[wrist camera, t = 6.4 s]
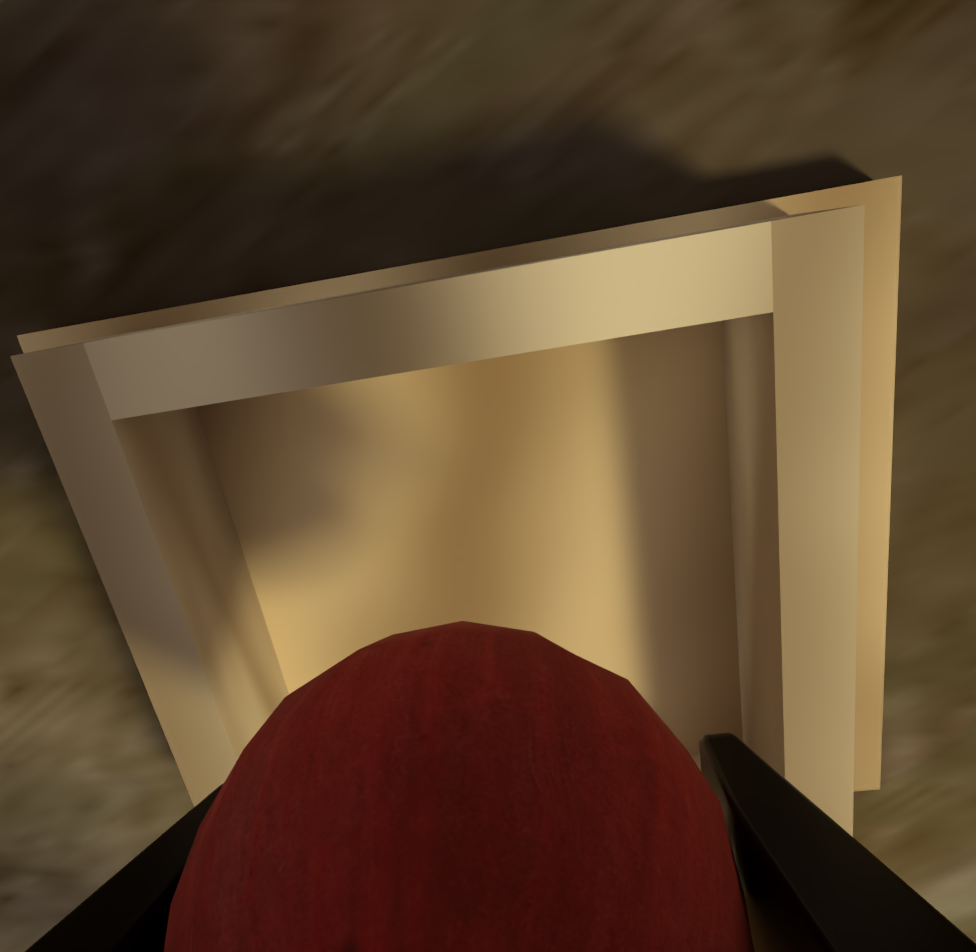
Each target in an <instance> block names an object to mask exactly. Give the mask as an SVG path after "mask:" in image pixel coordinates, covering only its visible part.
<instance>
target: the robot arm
mask: <svg viewBox="0 0 976 952" xmlns="http://www.w3.org/2000/svg"><path fill="white" fill-rule="evenodd" d="M699 749H700V761H701V772H702V774H703V775H704V777H705V779H706V780H707V782H708V783H709V785H710V786H711V788H712V790H713V791H714V793H715V794H716V796H717V797H718V799H719V801H720V804H721V807H722V811H723V815H724V819H725V823H726V826H727V830H728V834H729V838H730V842H731V846H732V849H733V853H734V857H735V861H736V865H737V868H738V872H739V876H740V880H741V884H742V888H743V891H744V896H745V901H746V907H747V913H748V919H749V924H750V930H751V936H752V942H753V947H754V952H976V944H975V943H974V942H973V941H972V940H971V939H970V938H969V937H967V936H966V935H965V934H964V933H963V932H962V931H960V930H959V929H958V928H957V927H956V926H955V925H954V924H952V923H951V922H950V921H949V920H948V919H947V918H945V917H944V916H943V915H942V914H941V913H940V912H939V911H937V910H936V909H935V908H934V907H933V906H932V905H930V904H929V903H928V902H927V901H926V900H925V899H924V898H922V897H921V896H920V895H919V894H918V893H917V892H916V891H914V890H913V889H912V888H911V887H910V886H909V885H907V884H906V883H905V882H904V881H903V880H902V879H901V878H899V877H898V876H897V875H896V874H895V873H894V872H892V871H891V870H890V869H889V868H888V867H887V866H886V865H884V864H883V863H882V862H881V861H880V860H879V859H877V858H876V857H875V856H874V855H873V854H872V853H871V852H869V851H868V850H867V849H866V848H865V847H864V846H862V845H861V844H860V843H859V842H858V841H857V840H856V839H854V838H853V837H852V836H851V835H850V834H849V833H847V832H846V831H845V830H844V829H843V828H842V827H841V826H839V825H838V824H837V823H836V822H835V821H834V820H833V819H831V818H830V817H829V816H828V815H827V814H826V813H824V812H823V811H822V810H821V809H820V808H819V807H818V806H816V805H815V804H814V803H813V802H812V801H811V800H809V799H808V798H807V797H806V796H805V795H804V794H803V793H801V792H800V791H799V790H798V789H797V788H796V787H794V786H793V785H792V784H791V783H790V782H789V781H788V780H786V779H785V778H784V777H783V776H782V775H781V774H779V773H778V772H777V771H776V770H775V769H774V768H773V767H771V766H770V765H769V764H768V763H767V762H766V761H765V760H763V759H762V758H761V757H760V756H759V755H758V754H756V753H755V752H754V751H753V750H752V749H751V748H750V747H748V746H747V745H746V744H745V743H744V742H743V741H741V740H740V739H739V738H738V737H737V736H736V735H734V734H732V733H718V734H707V735H703V736H702V737H701V738H700V740H699ZM223 784H224V783H223ZM223 784H221V785H220V786H219V787H217V788H216V789H215V790H214V791H213V792H212V793H210V794H209V795H208V796H207V797H206V798H204V799H203V800H202V801H201V802H200V803H199V804H197V805H196V806H195V807H194V808H193V809H192V810H190V811H189V812H188V813H187V814H186V815H185V816H183V817H182V818H181V819H180V820H179V821H178V822H176V823H175V824H174V825H173V826H172V827H170V828H169V829H168V830H167V831H166V832H165V833H163V834H162V835H161V836H160V837H159V838H158V839H156V840H155V841H154V842H153V843H152V844H151V845H149V846H148V847H147V848H146V849H145V850H143V851H142V852H141V853H140V854H139V855H138V856H136V857H135V858H134V859H133V860H132V861H131V862H129V863H128V864H127V865H126V866H125V867H124V868H122V869H121V870H120V871H119V872H118V873H116V874H115V875H114V876H113V877H112V878H111V879H109V880H108V881H107V882H106V883H105V884H104V885H102V886H101V887H100V888H99V889H98V890H97V891H95V892H94V893H93V894H92V895H91V896H90V897H88V898H87V899H86V900H85V901H84V902H82V903H81V904H80V905H79V906H78V907H77V908H75V909H74V910H73V911H72V912H71V913H70V914H68V915H67V916H66V917H65V918H64V919H62V920H61V921H60V922H59V923H58V924H57V925H55V926H54V927H53V928H52V929H51V930H50V931H48V932H47V933H46V934H45V935H44V936H43V937H41V938H40V939H39V940H38V941H37V942H35V943H34V944H33V945H32V946H31V947H30V948H28V949H27V950H26V951H25V952H164V946H165V939H166V932H167V925H168V919H169V912H170V905H171V902H172V899H173V897H174V894H175V891H176V888H177V886H178V883H179V880H180V878H181V875H182V872H183V869H184V867H185V864H186V861H187V858H188V856H189V853H190V850H191V847H192V845H193V842H194V839H195V836H196V834H197V831H198V828H199V826H200V824H201V822H202V821H203V819H204V817H205V815H206V814H207V812H208V810H209V808H210V807H211V805H212V803H213V801H214V800H215V798H216V796H217V795H218V793H219V791H220V789H221V788H222V786H223Z"/></svg>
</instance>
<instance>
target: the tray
mask: <svg viewBox="0 0 976 952" xmlns="http://www.w3.org/2000/svg"><path fill="white" fill-rule="evenodd" d="M901 191H902V176H896V177H890V178H885V179H879V180H874V181H868V182H863V183H857V184H852V185H846V186H841V187H835V188H830V189H824V190H819V191H813V192H808V193H802V194H796V195H791V196H785V197H780V198H774V199H769V200H763V201H758V202H752V203H747V204H741V205H736V206H730V207H725V208H719V209H714V210H708V211H702V212H697V213H691V214H686V215H680V216H675V217H669V218H664V219H658V220H653V221H647V222H642V223H636V224H631V225H625V226H620V227H614V228H609V229H603V230H597V231H592V232H586V233H581V234H575V235H570V236H564V237H559V238H553V239H548V240H542V241H537V242H531V243H526V244H520V245H515V246H509V247H503V248H498V249H492V250H487V251H481V252H476V253H470V254H465V255H459V256H454V257H448V258H443V259H437V260H432V261H426V262H421V263H415V264H409V265H404V266H398V267H393V268H387V269H382V270H376V271H371V272H365V273H360V274H354V275H349V276H343V277H338V278H332V279H327V280H321V281H316V282H310V283H304V284H299V285H293V286H288V287H282V288H277V289H271V290H266V291H260V292H255V293H249V294H244V295H238V296H233V297H227V298H222V299H216V300H210V301H205V302H199V303H194V304H188V305H183V306H177V307H172V308H166V309H161V310H155V311H150V312H144V313H139V314H133V315H128V316H122V317H116V318H111V319H105V320H100V321H94V322H89V323H83V324H78V325H72V326H67V327H61V328H56V329H50V330H45V331H39V332H34V333H28V334H23V335H17V338H18V341H19V343H20V346H21V348H22V351H23V353H24V354H19V355H14V356H10V357H11V360H12V362H13V365H14V367H15V370H16V372H17V375H18V377H19V379H20V382H21V384H22V387H23V389H24V392H25V394H26V397H27V399H28V401H29V404H30V406H31V409H32V411H33V414H34V416H35V419H36V421H37V423H38V426H39V428H40V431H41V433H42V436H43V438H44V441H45V443H46V445H47V448H48V450H49V453H50V455H51V458H52V460H53V463H54V465H55V467H56V470H57V472H58V475H59V477H60V480H61V482H62V485H63V487H64V489H65V492H66V494H67V497H68V499H69V502H70V504H71V507H72V509H73V511H74V514H75V516H76V519H77V521H78V524H79V526H80V529H81V531H82V533H83V536H84V538H85V541H86V543H87V546H88V548H89V551H90V553H91V555H92V558H93V560H94V563H95V565H96V568H97V570H98V573H99V575H100V577H101V580H102V582H103V585H104V587H105V590H106V592H107V595H108V597H109V599H110V602H111V604H112V607H113V609H114V612H115V614H116V617H117V619H118V621H119V624H120V626H121V629H122V631H123V634H124V636H125V639H126V641H127V643H128V646H129V648H130V651H131V653H132V656H133V658H134V661H135V663H136V665H137V668H138V670H139V673H140V675H141V678H142V680H143V683H144V685H145V687H146V690H147V692H148V695H149V697H150V700H151V702H152V705H153V707H154V709H155V712H156V714H157V717H158V719H159V722H160V724H161V727H162V729H163V731H164V734H165V736H166V739H167V741H168V744H169V746H170V748H171V751H172V753H173V756H174V758H175V761H176V763H177V766H178V768H179V770H180V773H181V775H182V778H183V780H184V783H185V785H186V788H187V790H188V792H189V795H190V797H191V800H192V802H193V805H194V807H195V806H196V805H197V804H199V803H200V802H201V801H202V800H203V799H204V798H206V797H207V796H208V795H209V794H210V793H212V792H213V791H214V790H215V789H216V788H217V787H219V786H220V785H221V784H223V783H224V782H225V781H226V779H227V777H228V775H229V774H230V772H231V770H232V768H233V767H234V765H235V763H236V761H237V760H238V758H239V756H240V754H241V753H242V751H243V749H244V748H245V747H246V745H247V744H248V743H249V742H250V740H251V739H252V738H253V737H254V735H255V734H256V733H257V732H258V730H259V729H260V728H261V727H262V725H263V724H264V723H265V721H266V720H267V719H268V718H269V716H270V715H271V714H272V713H273V711H274V710H275V709H276V708H277V706H278V705H279V704H280V703H281V701H282V700H283V699H284V698H285V697H286V696H287V695H289V694H290V693H292V692H293V691H295V690H297V689H298V688H300V687H301V686H303V685H304V684H306V683H307V682H309V681H311V680H312V679H314V678H315V677H317V676H318V675H320V674H321V673H323V672H324V671H326V670H328V669H329V668H331V667H332V666H334V665H335V664H337V663H338V662H340V661H342V660H343V659H345V658H346V657H348V656H349V655H351V654H352V653H354V652H355V651H357V650H359V649H361V648H363V647H365V646H368V645H370V644H372V643H374V642H377V641H379V640H381V639H383V638H386V637H388V636H390V635H393V634H398V633H403V632H408V631H413V630H418V629H423V628H428V627H433V626H438V625H444V624H449V623H454V622H459V621H468V622H474V623H481V624H487V625H494V626H500V627H507V628H513V629H520V630H526V631H533V632H536V633H538V634H539V635H541V636H543V637H545V638H546V639H548V640H550V641H552V642H554V643H555V644H557V645H559V646H561V647H563V648H564V649H566V650H568V651H570V652H571V653H573V654H575V655H577V656H579V657H581V658H583V659H586V660H588V661H590V662H592V663H594V664H596V665H598V666H600V667H602V668H605V669H607V670H609V671H611V672H613V673H615V674H617V675H619V676H621V677H624V678H626V679H628V680H629V681H630V682H631V684H632V685H633V686H634V687H635V688H636V690H637V691H638V692H639V693H640V694H641V696H642V697H643V698H644V699H645V700H646V701H647V703H648V704H649V705H650V706H651V707H652V709H653V710H654V711H655V712H656V713H657V715H658V716H659V717H660V718H661V719H662V721H663V722H664V723H665V724H666V725H667V726H668V728H669V729H670V730H671V731H672V732H673V734H674V735H675V736H676V737H677V738H678V740H679V741H680V742H681V743H682V744H683V745H684V747H685V748H686V749H687V750H688V752H689V753H690V755H691V757H692V758H693V760H694V761H695V763H696V764H697V766H698V768H699V769H700V771H701V761H700V749H699V740H700V738H701V737H702V736H703V735H707V734H718V733H732V734H734V735H736V736H737V737H738V738H739V739H740V740H741V741H743V742H744V743H745V744H746V745H747V746H748V747H750V748H751V749H752V750H753V751H754V752H755V753H756V754H758V755H759V756H760V757H761V758H762V759H763V760H765V761H766V762H767V763H768V764H769V765H770V766H771V767H773V768H774V769H775V770H776V771H777V772H778V773H779V774H781V775H782V776H783V777H784V778H785V779H786V780H788V781H789V782H790V783H791V784H792V785H793V786H794V787H796V788H797V789H798V790H799V791H800V792H801V793H803V794H804V795H805V796H806V797H807V798H808V799H809V800H811V801H812V802H813V803H814V804H815V805H816V806H818V807H819V808H820V809H821V810H822V811H823V812H824V813H826V814H827V815H828V816H829V817H830V818H831V819H833V820H834V821H835V822H836V823H837V824H838V825H839V826H841V827H842V828H843V829H844V830H845V831H846V832H847V833H849V834H850V835H851V836H852V837H853V792H854V791H863V790H874V789H880V774H881V747H882V719H883V691H884V663H885V635H886V608H887V580H888V552H889V524H890V496H891V469H892V441H893V413H894V385H895V357H896V330H897V302H898V274H899V246H900V218H901Z"/></svg>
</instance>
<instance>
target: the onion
mask: <svg viewBox="0 0 976 952" xmlns="http://www.w3.org/2000/svg"><path fill="white" fill-rule="evenodd" d="M164 952H754V947H753V942H752V936H751V930H750V924H749V919H748V913H747V907H746V901H745V896H744V891H743V888H742V884H741V880H740V876H739V872H738V868H737V865H736V861H735V857H734V853H733V849H732V846H731V842H730V838H729V834H728V830H727V826H726V823H725V819H724V815H723V811H722V807H721V804H720V801H719V799H718V797H717V796H716V794H715V793H714V791H713V790H712V788H711V786H710V785H709V783H708V782H707V780H706V779H705V777H704V775H703V774H702V772H701V771H700V769H699V768H698V766H697V764H696V763H695V761H694V760H693V758H692V757H691V755H690V753H689V752H688V750H687V749H686V748H685V747H684V745H683V744H682V743H681V742H680V741H679V740H678V738H677V737H676V736H675V735H674V734H673V732H672V731H671V730H670V729H669V728H668V726H667V725H666V724H665V723H664V722H663V721H662V719H661V718H660V717H659V716H658V715H657V713H656V712H655V711H654V710H653V709H652V707H651V706H650V705H649V704H648V703H647V701H646V700H645V699H644V698H643V697H642V696H641V694H640V693H639V692H638V691H637V690H636V688H635V687H634V686H633V685H632V684H631V682H630V681H629V680H628V679H626V678H624V677H621V676H619V675H617V674H615V673H613V672H611V671H609V670H607V669H605V668H602V667H600V666H598V665H596V664H594V663H592V662H590V661H588V660H586V659H583V658H581V657H579V656H577V655H575V654H573V653H571V652H570V651H568V650H566V649H564V648H563V647H561V646H559V645H557V644H555V643H554V642H552V641H550V640H548V639H546V638H545V637H543V636H541V635H539V634H538V633H536V632H533V631H526V630H520V629H513V628H507V627H500V626H494V625H487V624H481V623H474V622H468V621H459V622H454V623H449V624H444V625H438V626H433V627H428V628H423V629H418V630H413V631H408V632H403V633H398V634H393V635H390V636H388V637H386V638H383V639H381V640H379V641H377V642H374V643H372V644H370V645H368V646H365V647H363V648H361V649H359V650H357V651H355V652H354V653H352V654H351V655H349V656H348V657H346V658H345V659H343V660H342V661H340V662H338V663H337V664H335V665H334V666H332V667H331V668H329V669H328V670H326V671H324V672H323V673H321V674H320V675H318V676H317V677H315V678H314V679H312V680H311V681H309V682H307V683H306V684H304V685H303V686H301V687H300V688H298V689H297V690H295V691H293V692H292V693H290V694H289V695H287V696H286V697H285V698H284V699H283V700H282V701H281V703H280V704H279V705H278V706H277V708H276V709H275V710H274V711H273V713H272V714H271V715H270V716H269V718H268V719H267V720H266V721H265V723H264V724H263V725H262V727H261V728H260V729H259V730H258V732H257V733H256V734H255V735H254V737H253V738H252V739H251V740H250V742H249V743H248V744H247V745H246V747H245V748H244V749H243V751H242V753H241V754H240V756H239V758H238V760H237V761H236V763H235V765H234V767H233V768H232V770H231V772H230V774H229V775H228V777H227V779H226V781H225V782H224V784H223V786H222V788H221V789H220V791H219V793H218V795H217V796H216V798H215V800H214V801H213V803H212V805H211V807H210V808H209V810H208V812H207V814H206V815H205V817H204V819H203V821H202V822H201V824H200V826H199V828H198V831H197V834H196V836H195V839H194V842H193V845H192V847H191V850H190V853H189V856H188V858H187V861H186V864H185V867H184V869H183V872H182V875H181V878H180V880H179V883H178V886H177V888H176V891H175V894H174V897H173V899H172V902H171V905H170V912H169V919H168V925H167V932H166V939H165V946H164Z"/></svg>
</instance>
